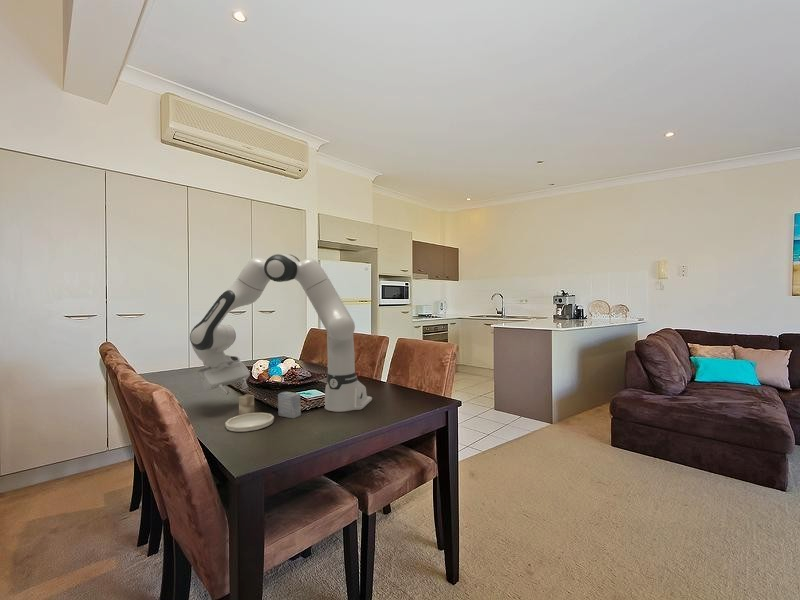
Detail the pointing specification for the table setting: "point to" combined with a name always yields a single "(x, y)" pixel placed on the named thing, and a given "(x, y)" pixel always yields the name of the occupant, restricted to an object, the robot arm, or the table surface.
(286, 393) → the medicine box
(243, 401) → the birch block
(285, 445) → the table surface
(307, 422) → the table surface
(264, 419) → the dish
